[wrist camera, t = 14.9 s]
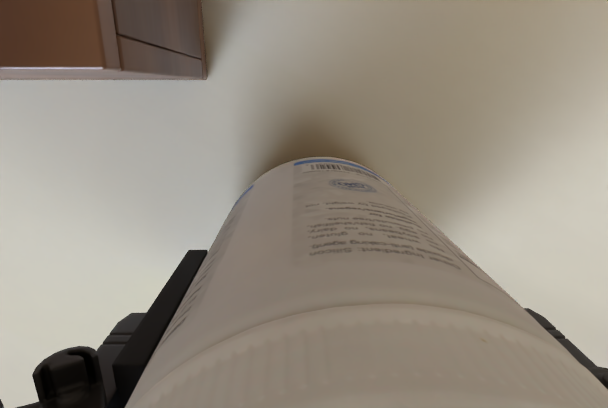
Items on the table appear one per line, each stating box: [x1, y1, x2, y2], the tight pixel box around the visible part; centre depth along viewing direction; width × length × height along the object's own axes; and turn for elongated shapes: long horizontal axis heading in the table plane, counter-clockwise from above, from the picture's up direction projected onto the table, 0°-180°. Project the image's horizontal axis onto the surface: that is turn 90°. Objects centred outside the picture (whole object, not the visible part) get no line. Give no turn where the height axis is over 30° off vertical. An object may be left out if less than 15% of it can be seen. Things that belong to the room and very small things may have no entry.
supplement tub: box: [125, 157, 608, 408], centre depth 12 cm, size 10×10×15 cm
